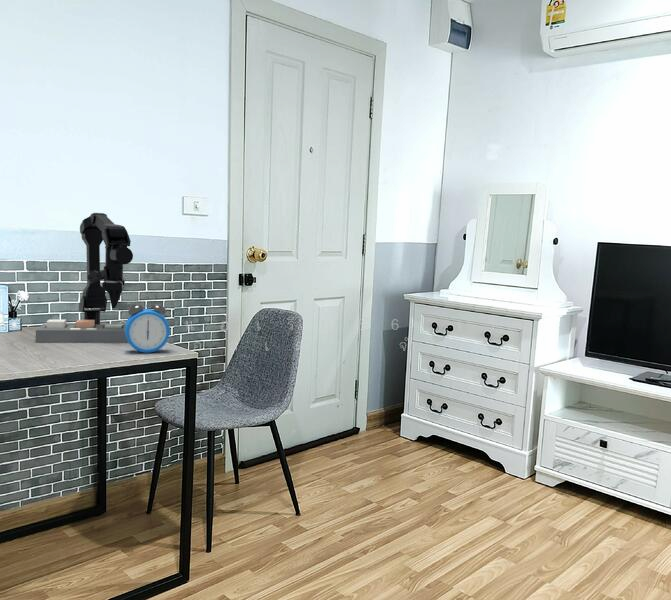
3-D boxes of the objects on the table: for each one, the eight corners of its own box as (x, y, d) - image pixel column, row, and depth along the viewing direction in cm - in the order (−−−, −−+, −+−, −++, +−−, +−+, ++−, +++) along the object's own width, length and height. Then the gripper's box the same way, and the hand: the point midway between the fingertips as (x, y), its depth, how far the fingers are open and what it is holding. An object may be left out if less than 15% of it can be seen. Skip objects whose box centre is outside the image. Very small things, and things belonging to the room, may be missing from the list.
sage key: (105, 333, 215) (105, 323, 214) (121, 334, 216) (122, 324, 216) (104, 336, 209) (104, 326, 209) (121, 336, 211) (121, 326, 211)
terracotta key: (77, 329, 212) (77, 319, 212) (94, 329, 213) (94, 319, 213) (75, 332, 207) (75, 321, 206) (92, 332, 208) (93, 322, 208)
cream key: (49, 329, 209) (49, 319, 209) (66, 329, 211) (66, 319, 211) (46, 332, 204) (46, 321, 204) (64, 332, 206) (64, 321, 205)
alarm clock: (125, 354, 188) (126, 305, 186) (124, 350, 193) (124, 302, 192) (169, 353, 193) (170, 305, 191) (167, 349, 198) (168, 303, 197)
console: (42, 335, 211) (42, 323, 211) (129, 336, 219) (129, 324, 219) (35, 342, 199) (35, 329, 198) (127, 342, 207) (127, 330, 206)
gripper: (91, 260, 217) (91, 304, 218) (85, 263, 199) (85, 311, 200) (125, 261, 220) (124, 305, 221) (122, 264, 202) (121, 311, 204)
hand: (113, 308), depth 212 cm, fingers closed
